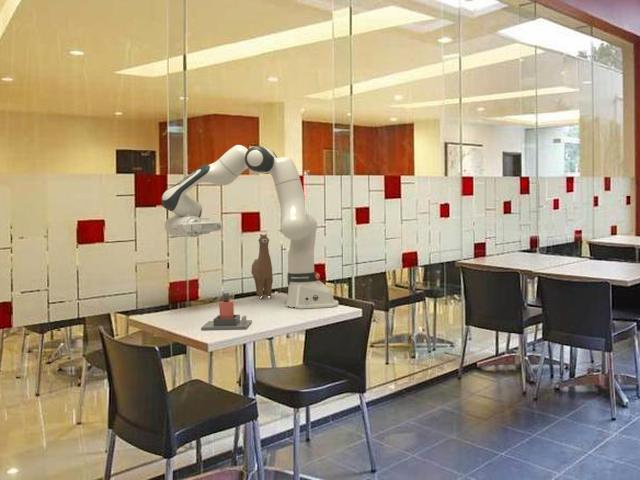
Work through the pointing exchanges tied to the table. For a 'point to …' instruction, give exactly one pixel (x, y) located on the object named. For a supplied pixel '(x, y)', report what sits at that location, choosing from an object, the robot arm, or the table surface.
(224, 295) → the plug
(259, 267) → the toy
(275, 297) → the table surface
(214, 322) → the dock
